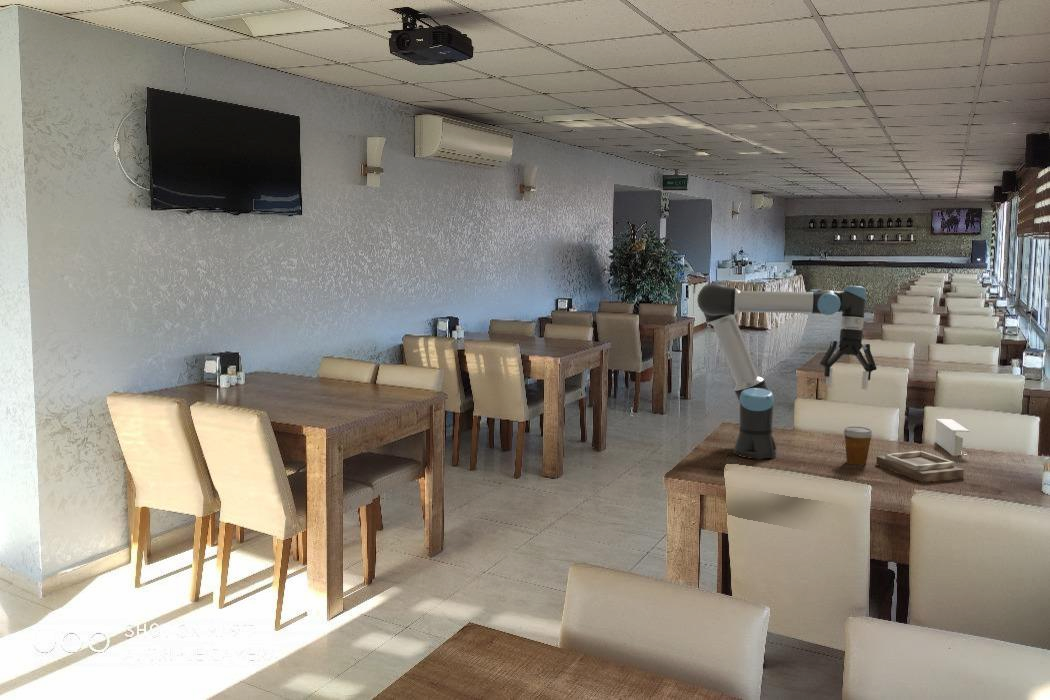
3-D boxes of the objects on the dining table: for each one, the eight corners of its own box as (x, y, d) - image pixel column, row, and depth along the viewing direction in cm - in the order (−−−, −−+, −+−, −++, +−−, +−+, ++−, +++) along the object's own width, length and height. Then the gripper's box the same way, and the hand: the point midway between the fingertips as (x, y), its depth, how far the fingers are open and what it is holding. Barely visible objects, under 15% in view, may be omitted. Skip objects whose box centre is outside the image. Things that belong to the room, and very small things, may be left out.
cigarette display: (967, 456, 296) (969, 430, 295) (951, 455, 297) (952, 430, 296) (949, 442, 316) (950, 418, 314) (933, 441, 317) (935, 418, 315)
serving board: (922, 482, 265) (923, 469, 264) (876, 464, 286) (877, 451, 285) (963, 478, 269) (964, 465, 269) (914, 460, 290) (915, 448, 290)
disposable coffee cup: (836, 462, 289) (838, 428, 288) (851, 457, 295) (853, 424, 293) (861, 468, 282) (863, 433, 280) (876, 463, 288) (878, 429, 286)
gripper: (823, 325, 292) (817, 385, 292) (890, 332, 294) (884, 391, 295) (814, 326, 299) (808, 384, 300) (879, 332, 302) (873, 389, 302)
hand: (846, 387), depth 297 cm, fingers open, 13 cm apart
